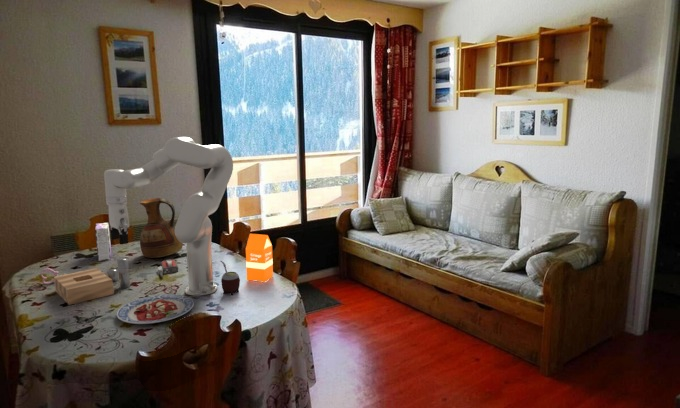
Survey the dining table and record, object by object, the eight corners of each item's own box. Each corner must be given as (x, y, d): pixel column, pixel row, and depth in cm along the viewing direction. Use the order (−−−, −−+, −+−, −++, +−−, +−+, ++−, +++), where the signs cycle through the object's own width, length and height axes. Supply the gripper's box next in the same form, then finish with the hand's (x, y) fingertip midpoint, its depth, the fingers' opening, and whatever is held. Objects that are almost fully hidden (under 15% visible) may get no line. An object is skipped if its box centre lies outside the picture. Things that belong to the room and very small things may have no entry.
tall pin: (131, 287, 191) (129, 259, 189) (121, 289, 189) (118, 261, 187) (128, 284, 194) (125, 257, 192) (118, 286, 192) (115, 259, 189)
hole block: (113, 293, 184) (112, 279, 183) (68, 304, 173) (67, 289, 172) (98, 281, 198) (96, 268, 197) (55, 291, 187) (53, 276, 186)
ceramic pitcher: (143, 252, 242) (138, 196, 237) (183, 248, 248) (179, 193, 243) (139, 262, 224) (133, 202, 219) (182, 259, 230) (178, 200, 224)
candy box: (99, 254, 239) (96, 223, 236) (111, 252, 241) (108, 222, 238) (97, 261, 227) (94, 228, 224) (111, 259, 229) (108, 227, 226)
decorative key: (93, 284, 203) (39, 284, 194) (93, 283, 204) (40, 283, 195) (94, 269, 203) (41, 268, 193) (94, 268, 204) (41, 268, 195)
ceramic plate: (106, 313, 166) (105, 305, 166) (174, 294, 184) (174, 287, 183) (134, 336, 148) (133, 327, 147) (207, 313, 166) (206, 305, 165)
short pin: (120, 281, 199) (118, 270, 198) (110, 283, 196) (109, 272, 195) (116, 278, 201) (115, 267, 201) (107, 281, 199) (105, 270, 198)
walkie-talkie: (156, 267, 218) (159, 280, 200) (155, 258, 217) (159, 270, 200) (175, 264, 222) (180, 277, 204) (174, 256, 221) (180, 267, 203)
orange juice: (265, 283, 195) (263, 237, 192) (246, 280, 198) (244, 235, 195) (273, 277, 203) (272, 232, 199) (255, 275, 206) (253, 231, 202)
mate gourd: (238, 288, 189) (236, 253, 186) (241, 295, 182) (240, 258, 179) (220, 291, 186) (218, 255, 184) (222, 298, 179) (220, 261, 176)
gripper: (134, 202, 181) (137, 244, 184) (118, 196, 194) (122, 235, 197) (114, 204, 176) (117, 247, 179) (99, 198, 189) (103, 238, 192)
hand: (119, 241), depth 188 cm, fingers open, 9 cm apart
